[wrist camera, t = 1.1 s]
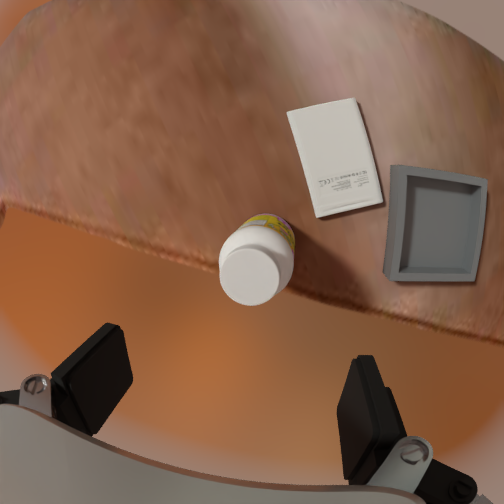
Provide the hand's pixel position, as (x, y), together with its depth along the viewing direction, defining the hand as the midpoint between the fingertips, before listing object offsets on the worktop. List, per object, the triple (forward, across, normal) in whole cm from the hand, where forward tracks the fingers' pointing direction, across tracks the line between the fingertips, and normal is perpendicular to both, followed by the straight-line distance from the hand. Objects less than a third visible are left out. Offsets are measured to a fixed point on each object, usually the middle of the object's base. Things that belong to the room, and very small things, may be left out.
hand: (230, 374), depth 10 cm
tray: (+24, -20, -4) cm, 32 cm away
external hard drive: (+25, -7, -10) cm, 28 cm away
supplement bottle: (+25, 0, 0) cm, 25 cm away
